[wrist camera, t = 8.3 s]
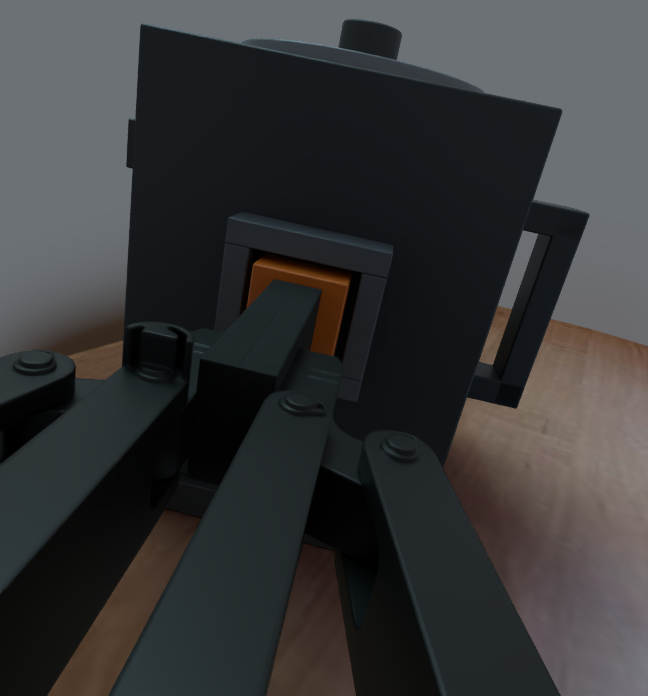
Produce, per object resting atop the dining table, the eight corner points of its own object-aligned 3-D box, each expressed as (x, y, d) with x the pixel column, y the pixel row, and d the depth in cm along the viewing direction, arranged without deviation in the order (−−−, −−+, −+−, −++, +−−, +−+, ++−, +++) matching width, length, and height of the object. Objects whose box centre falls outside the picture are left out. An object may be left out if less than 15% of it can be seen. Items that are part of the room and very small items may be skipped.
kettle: (28, 494, 21) (15, -108, 14) (174, 356, 35) (206, 20, 28) (510, 615, 20) (769, 39, 13) (463, 424, 34) (574, 95, 27)
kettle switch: (239, 352, 17) (252, 263, 16) (253, 334, 19) (265, 252, 18) (329, 373, 17) (348, 284, 16) (335, 353, 19) (353, 271, 18)
